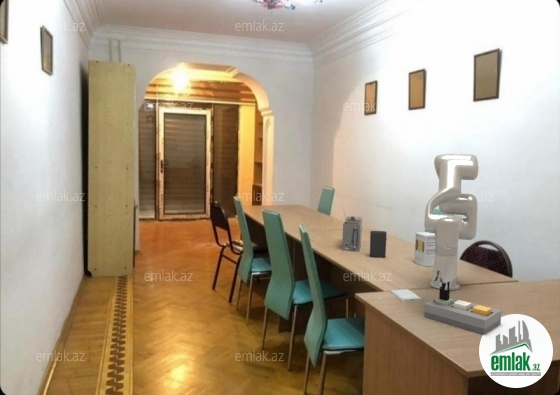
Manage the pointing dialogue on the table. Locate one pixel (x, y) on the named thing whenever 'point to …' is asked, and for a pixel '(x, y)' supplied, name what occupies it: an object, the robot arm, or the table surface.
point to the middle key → (462, 305)
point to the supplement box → (424, 249)
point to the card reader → (378, 244)
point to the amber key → (482, 310)
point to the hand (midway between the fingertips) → (444, 299)
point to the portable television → (352, 233)
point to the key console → (463, 317)
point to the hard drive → (406, 295)
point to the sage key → (444, 301)
